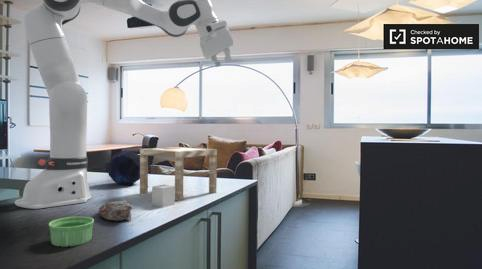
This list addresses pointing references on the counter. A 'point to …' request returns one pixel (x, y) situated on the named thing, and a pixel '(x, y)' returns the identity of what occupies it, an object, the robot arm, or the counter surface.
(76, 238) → the ramekin
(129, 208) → the mineral rock
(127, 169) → the decorative orb
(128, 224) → the counter surface
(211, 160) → the wooden stool
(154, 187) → the stone block
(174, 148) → the trapdoor
